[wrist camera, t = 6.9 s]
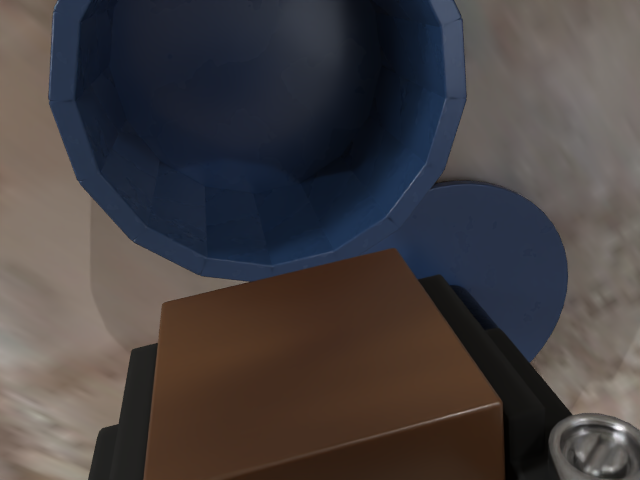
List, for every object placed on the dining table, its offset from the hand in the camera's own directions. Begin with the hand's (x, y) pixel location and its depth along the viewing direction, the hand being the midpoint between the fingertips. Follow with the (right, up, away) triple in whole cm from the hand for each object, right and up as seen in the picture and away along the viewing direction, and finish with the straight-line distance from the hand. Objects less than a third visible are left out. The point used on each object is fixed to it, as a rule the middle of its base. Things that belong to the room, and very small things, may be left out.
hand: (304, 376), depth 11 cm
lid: (+7, -1, +22) cm, 24 cm away
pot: (-3, +11, +16) cm, 19 cm away
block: (0, 0, 0) cm, 0 cm away
